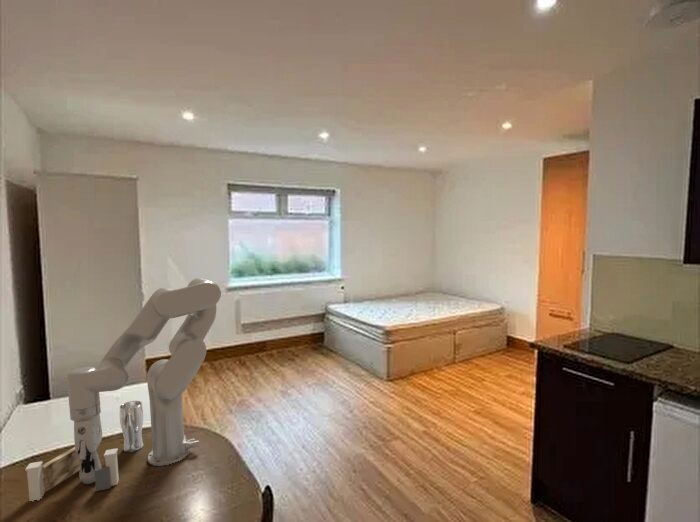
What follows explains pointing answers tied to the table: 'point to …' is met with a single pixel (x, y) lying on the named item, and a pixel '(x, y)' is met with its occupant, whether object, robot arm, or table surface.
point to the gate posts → (102, 475)
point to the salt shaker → (90, 476)
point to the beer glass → (132, 425)
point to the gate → (60, 468)
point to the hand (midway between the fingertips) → (90, 469)
